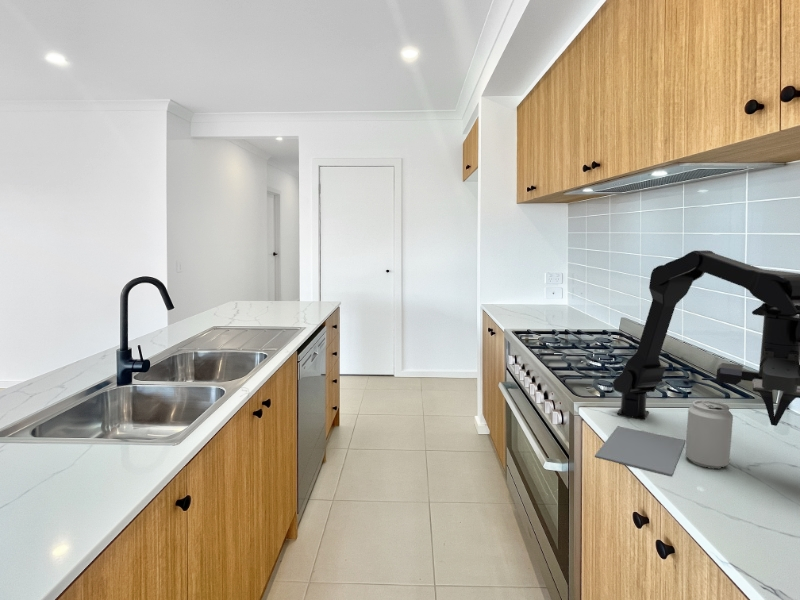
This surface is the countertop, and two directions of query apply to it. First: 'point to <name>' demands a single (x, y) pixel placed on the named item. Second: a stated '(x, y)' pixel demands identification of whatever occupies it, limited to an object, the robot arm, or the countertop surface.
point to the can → (709, 434)
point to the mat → (642, 450)
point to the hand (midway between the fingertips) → (773, 424)
